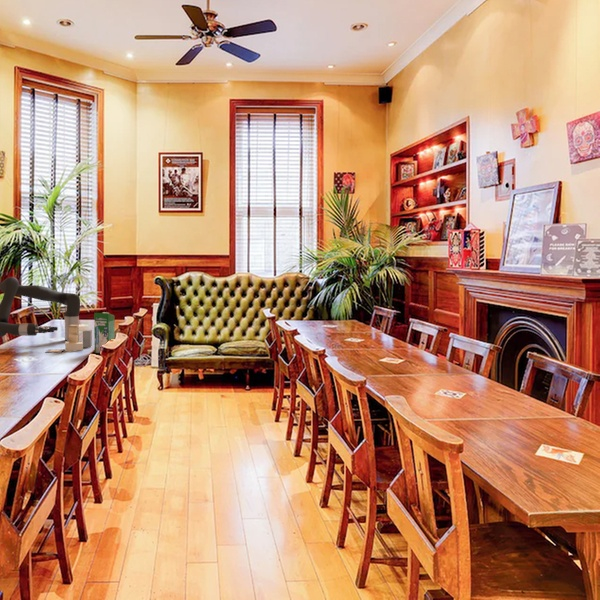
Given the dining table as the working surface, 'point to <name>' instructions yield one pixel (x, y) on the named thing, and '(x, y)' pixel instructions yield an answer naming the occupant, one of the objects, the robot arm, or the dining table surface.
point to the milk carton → (103, 329)
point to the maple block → (73, 333)
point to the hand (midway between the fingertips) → (55, 329)
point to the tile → (55, 350)
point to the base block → (74, 346)
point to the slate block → (87, 338)
